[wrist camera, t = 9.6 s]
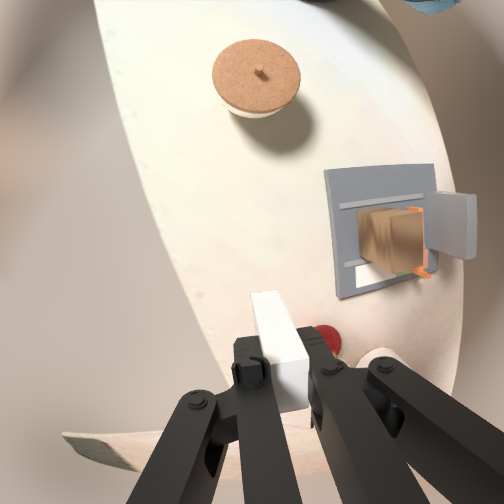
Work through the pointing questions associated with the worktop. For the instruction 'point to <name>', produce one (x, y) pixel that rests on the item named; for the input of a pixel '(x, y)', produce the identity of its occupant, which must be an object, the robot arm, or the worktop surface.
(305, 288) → the worktop surface
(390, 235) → the brown rectangular block
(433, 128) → the worktop surface
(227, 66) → the lidded jar
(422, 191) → the base
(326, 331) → the onion
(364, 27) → the worktop surface
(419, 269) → the orange bracket
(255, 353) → the robot arm
